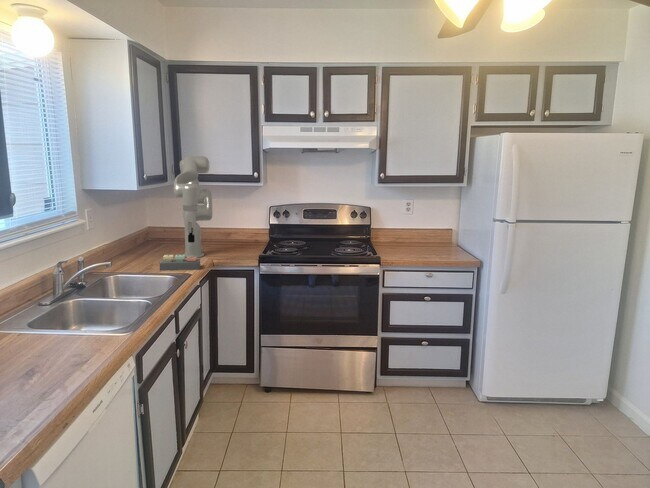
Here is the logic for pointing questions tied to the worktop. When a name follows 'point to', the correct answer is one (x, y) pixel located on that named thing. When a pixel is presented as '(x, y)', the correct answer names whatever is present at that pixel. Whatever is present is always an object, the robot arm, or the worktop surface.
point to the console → (179, 265)
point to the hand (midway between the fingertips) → (191, 242)
